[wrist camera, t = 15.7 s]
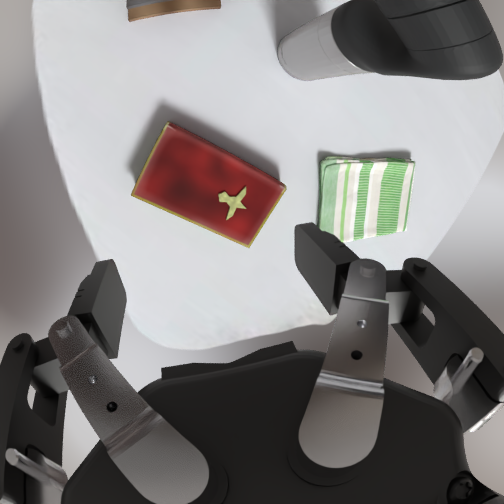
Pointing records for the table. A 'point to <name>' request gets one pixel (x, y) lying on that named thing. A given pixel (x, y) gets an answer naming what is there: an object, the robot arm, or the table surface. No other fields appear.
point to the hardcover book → (207, 186)
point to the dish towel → (364, 196)
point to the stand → (166, 7)
